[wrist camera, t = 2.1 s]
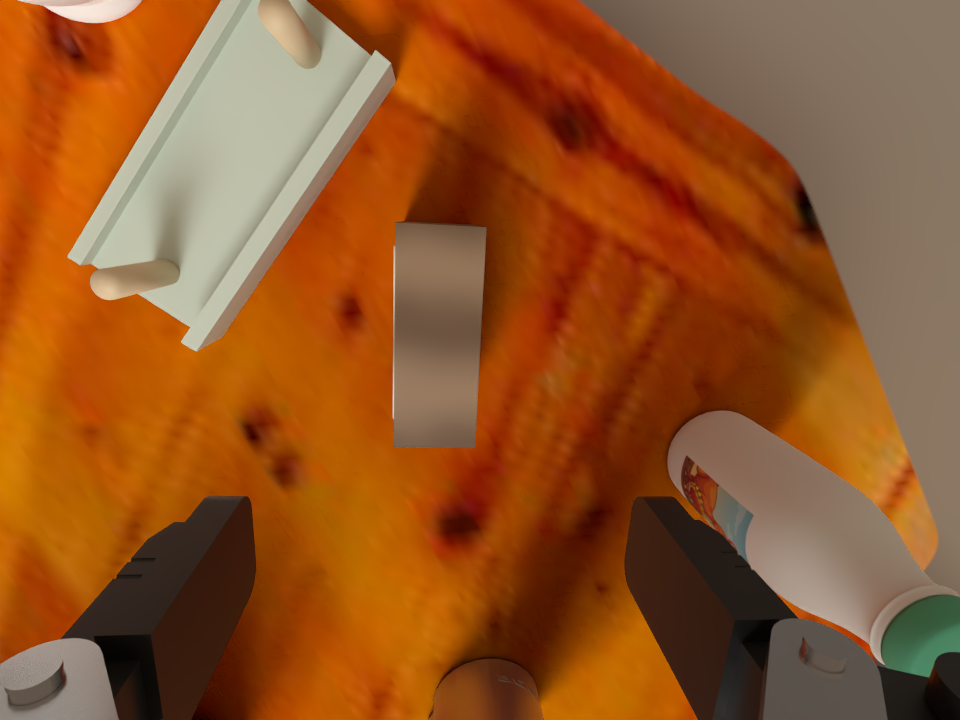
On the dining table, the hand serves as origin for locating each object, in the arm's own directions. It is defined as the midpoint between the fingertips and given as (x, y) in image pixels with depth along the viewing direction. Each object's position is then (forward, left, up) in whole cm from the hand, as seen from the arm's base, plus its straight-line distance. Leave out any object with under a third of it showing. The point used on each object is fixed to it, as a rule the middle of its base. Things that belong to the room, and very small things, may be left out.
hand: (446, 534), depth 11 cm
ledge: (0, +15, -26) cm, 30 cm away
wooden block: (0, 0, -26) cm, 26 cm away
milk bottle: (+4, -24, -26) cm, 36 cm away
